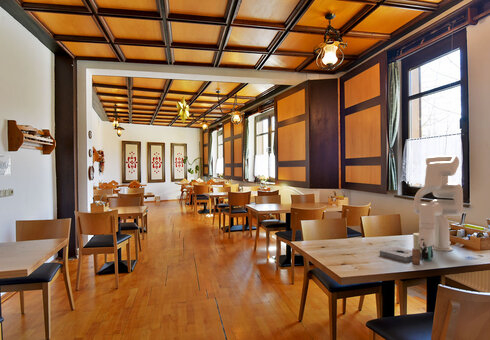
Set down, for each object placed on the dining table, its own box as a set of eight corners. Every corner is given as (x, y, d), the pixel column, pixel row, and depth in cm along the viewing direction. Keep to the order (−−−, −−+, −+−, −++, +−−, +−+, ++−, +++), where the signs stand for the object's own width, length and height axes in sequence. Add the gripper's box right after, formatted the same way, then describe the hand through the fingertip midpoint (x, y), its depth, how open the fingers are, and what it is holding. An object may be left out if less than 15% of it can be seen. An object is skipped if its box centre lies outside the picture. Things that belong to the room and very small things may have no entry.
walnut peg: (414, 262, 159) (414, 248, 159) (421, 264, 156) (421, 249, 156) (411, 263, 157) (411, 249, 157) (417, 265, 154) (417, 250, 154)
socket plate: (395, 251, 181) (395, 246, 181) (421, 257, 167) (421, 252, 167) (379, 255, 172) (379, 250, 172) (406, 262, 159) (406, 257, 159)
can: (422, 256, 171) (422, 235, 171) (409, 251, 180) (409, 232, 180) (434, 254, 173) (434, 234, 173) (421, 250, 182) (421, 231, 182)
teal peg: (425, 259, 165) (425, 245, 165) (432, 260, 162) (432, 246, 162) (422, 260, 163) (422, 245, 163) (429, 261, 160) (429, 247, 160)
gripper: (427, 223, 170) (428, 254, 170) (412, 226, 161) (412, 259, 161) (441, 225, 164) (442, 257, 164) (426, 228, 155) (426, 262, 155)
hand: (427, 257), depth 163 cm, fingers open, 4 cm apart
